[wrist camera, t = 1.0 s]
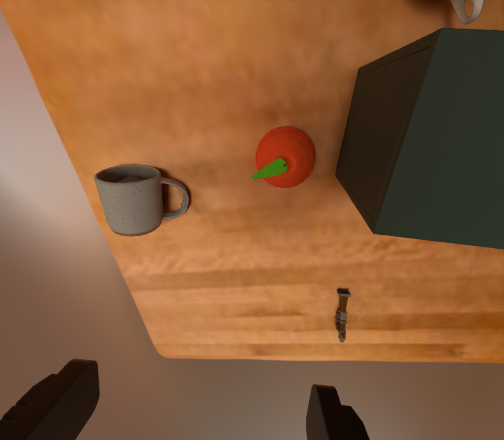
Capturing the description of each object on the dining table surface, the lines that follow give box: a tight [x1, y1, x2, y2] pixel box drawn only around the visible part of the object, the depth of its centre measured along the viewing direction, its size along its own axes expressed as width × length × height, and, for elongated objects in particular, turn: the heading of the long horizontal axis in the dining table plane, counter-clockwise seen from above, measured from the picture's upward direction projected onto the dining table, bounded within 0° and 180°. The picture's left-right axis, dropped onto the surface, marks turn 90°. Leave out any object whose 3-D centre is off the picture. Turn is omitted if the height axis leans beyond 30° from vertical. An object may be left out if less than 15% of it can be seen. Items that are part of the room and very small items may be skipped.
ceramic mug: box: [94, 165, 189, 236], centre depth 33 cm, size 11×8×8 cm
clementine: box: [250, 127, 315, 188], centre depth 28 cm, size 8×7×7 cm
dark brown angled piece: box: [335, 290, 351, 342], centre depth 40 cm, size 2×8×4 cm, turn 1°
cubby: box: [335, 28, 504, 249], centre depth 21 cm, size 15×12×16 cm
